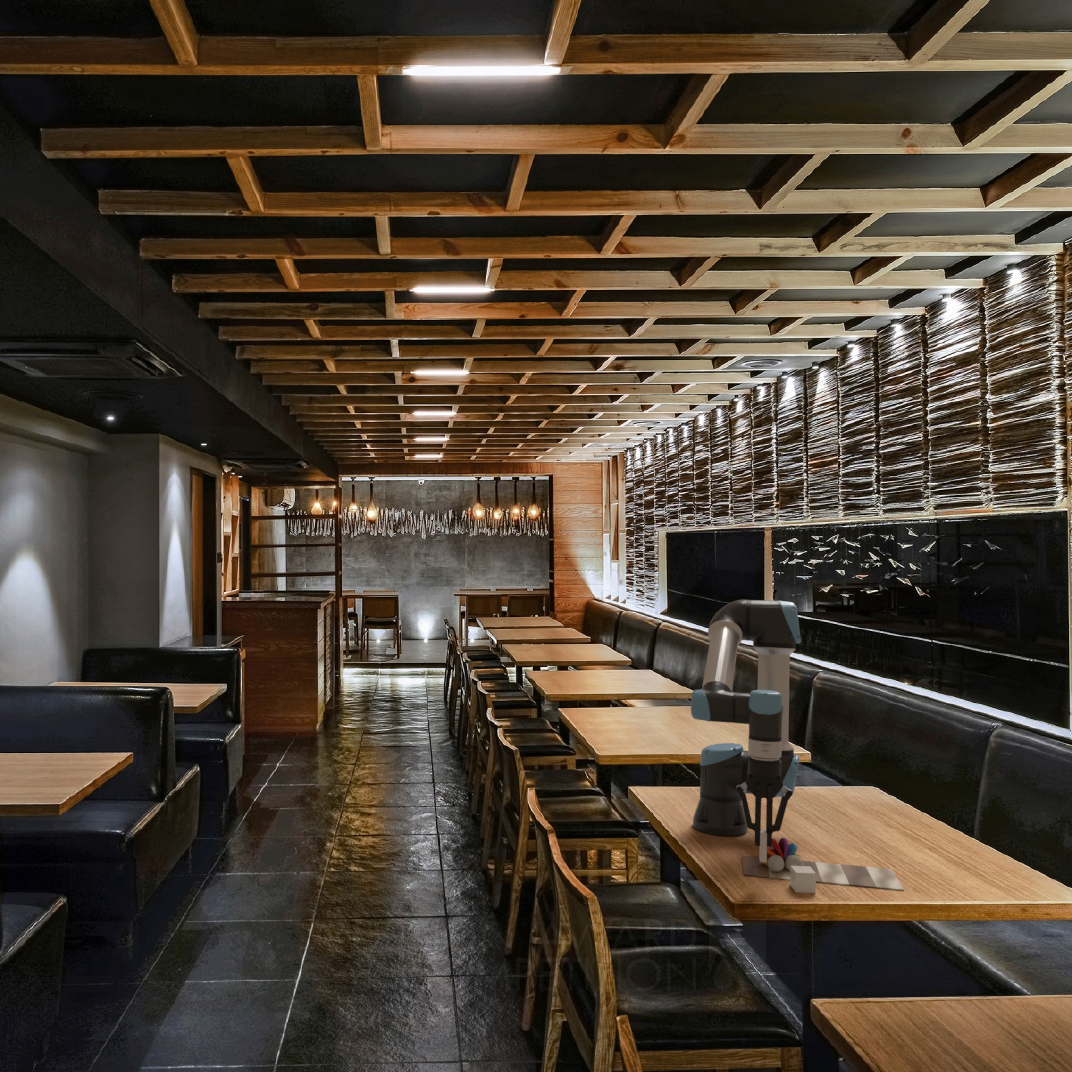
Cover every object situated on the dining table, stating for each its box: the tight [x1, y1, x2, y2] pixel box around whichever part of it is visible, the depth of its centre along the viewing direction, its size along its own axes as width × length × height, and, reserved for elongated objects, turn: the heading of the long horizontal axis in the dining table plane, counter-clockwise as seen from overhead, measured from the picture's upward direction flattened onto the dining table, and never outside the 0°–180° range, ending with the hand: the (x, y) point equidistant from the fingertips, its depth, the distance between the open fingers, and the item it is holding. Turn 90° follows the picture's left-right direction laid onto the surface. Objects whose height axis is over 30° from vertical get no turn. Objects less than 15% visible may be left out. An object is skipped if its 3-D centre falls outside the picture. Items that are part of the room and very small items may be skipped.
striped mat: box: [741, 854, 905, 892], centre depth 207 cm, size 36×14×1 cm, turn 79°
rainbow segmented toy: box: [762, 837, 802, 872], centre depth 209 cm, size 8×10×7 cm
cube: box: [789, 866, 817, 894], centre depth 196 cm, size 4×4×4 cm
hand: (762, 860), depth 198 cm, fingers closed
